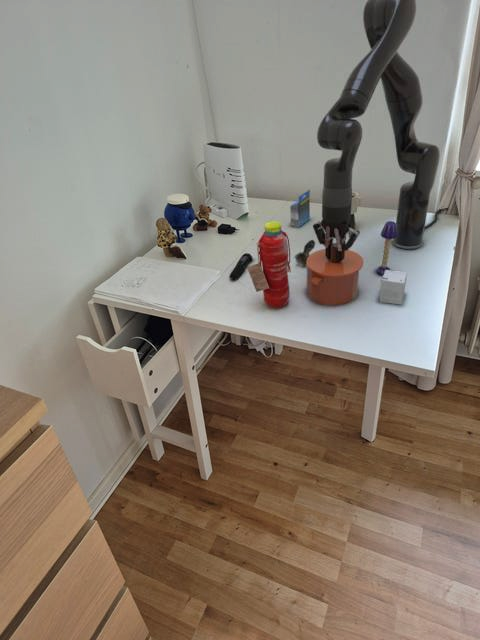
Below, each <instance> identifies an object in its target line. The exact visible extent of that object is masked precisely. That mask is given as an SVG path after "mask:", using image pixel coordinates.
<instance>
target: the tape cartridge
mask: <svg viewBox="0 0 480 640" xmlns="http://www.w3.org/2000/svg"><path fill="white" fill-rule="evenodd" d="M310 195H311V189H308V190H307V191H305V192H303V193H302V194H301V195H299V196H298V197H297V198H298V200H297V201H295V202H294V203H293V204H291V205H290V206H289V207H290V208H289V209H290V211H289V212H290V227H292V228H293V227H294V228H300V227H301V226H302V225H304V224H306V223H307V222H308V221H309V220H310V219H311V218H310V217H311V209H310V205H311V204H310V201H311V200H310Z"/></svg>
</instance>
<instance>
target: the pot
mask: <svg viewBox="0 0 480 640" xmlns="http://www.w3.org/2000/svg"><path fill="white" fill-rule="evenodd" d="M359 274H360V270H359V271H358V272H356V273H354V274H351V275H348V276H343V277H327V276H322V275H319V274H316V273H314V272H312V271H311V270H310V269H309V268H308V267H307V266H306V294H307V296H308V297H309V299H311V301H313V302H315V303H317V304H319V305H320V304H321V305H325V306H340V305H342V306H343V305H345V304H348V303H350V302H352V301H353V300H355V298H356V297H357V296H358V291H359V290H358V289H359V277H360V275H359Z"/></svg>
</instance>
